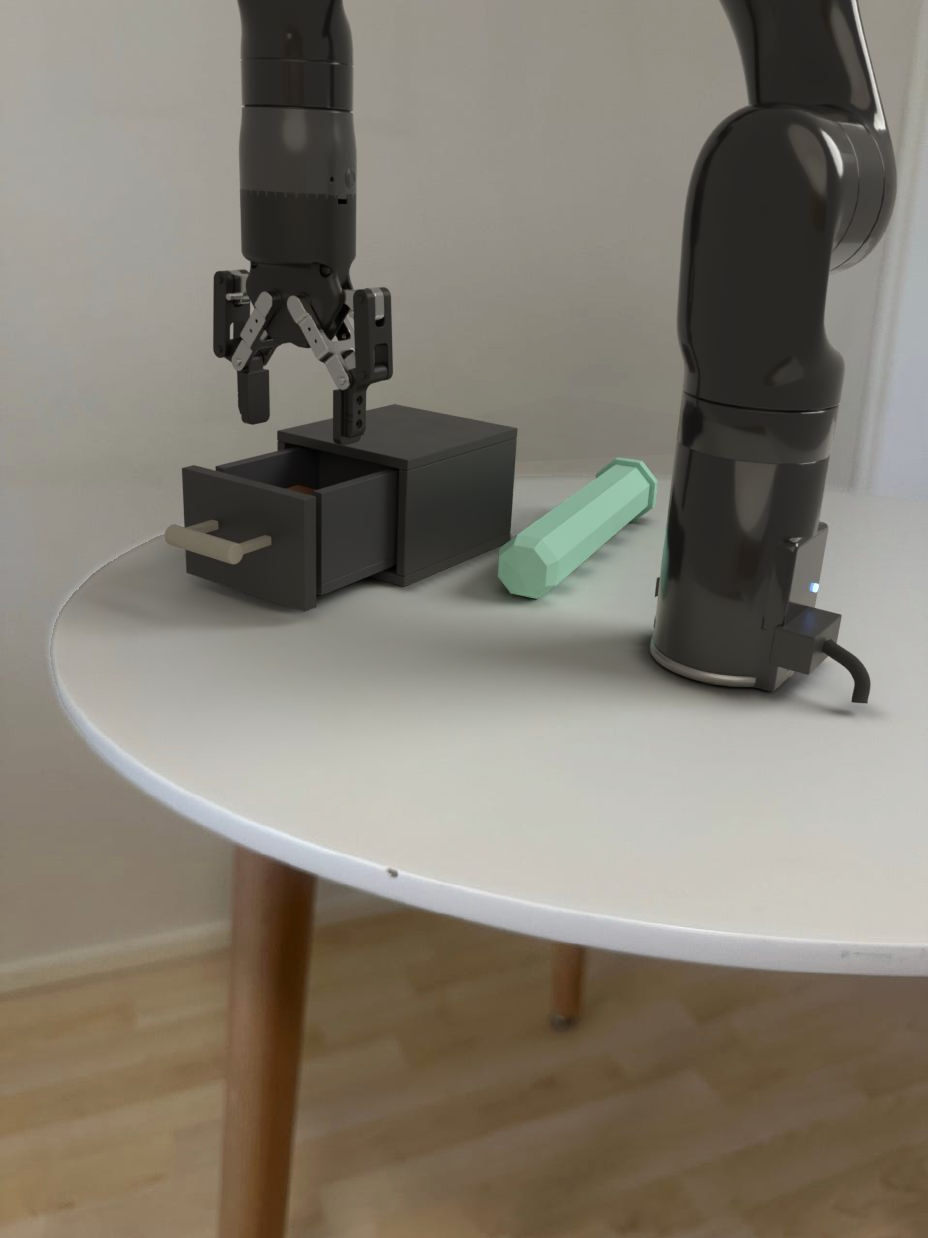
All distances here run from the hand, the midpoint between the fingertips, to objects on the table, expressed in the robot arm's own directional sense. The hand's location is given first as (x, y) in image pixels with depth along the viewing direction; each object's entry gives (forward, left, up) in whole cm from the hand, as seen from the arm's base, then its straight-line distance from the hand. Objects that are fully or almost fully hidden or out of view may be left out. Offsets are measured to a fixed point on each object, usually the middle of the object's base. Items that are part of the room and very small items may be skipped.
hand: (300, 432), depth 81 cm
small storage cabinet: (0, -12, -11) cm, 16 cm away
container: (-12, -20, -11) cm, 26 cm away
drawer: (0, +1, -10) cm, 10 cm away
